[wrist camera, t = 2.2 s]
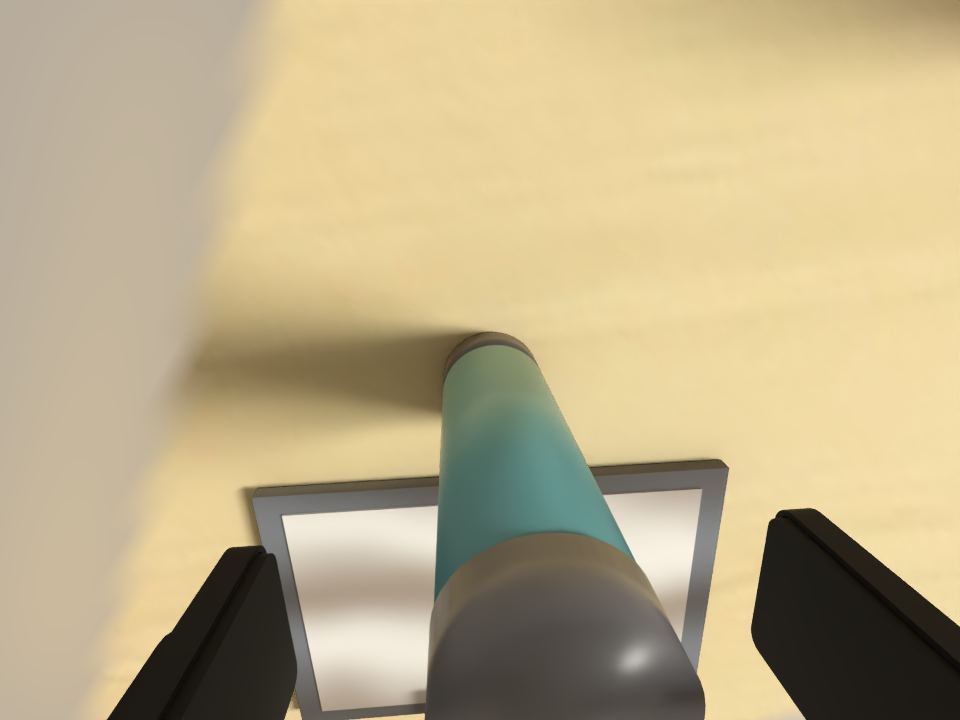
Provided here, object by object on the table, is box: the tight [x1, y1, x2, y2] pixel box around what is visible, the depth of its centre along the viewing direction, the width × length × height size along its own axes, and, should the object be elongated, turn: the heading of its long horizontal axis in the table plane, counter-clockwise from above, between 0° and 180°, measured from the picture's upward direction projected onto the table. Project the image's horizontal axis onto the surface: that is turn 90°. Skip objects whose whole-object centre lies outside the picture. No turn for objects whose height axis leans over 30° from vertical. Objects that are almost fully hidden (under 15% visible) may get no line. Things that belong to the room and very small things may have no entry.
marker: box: [425, 332, 705, 720], centre depth 12 cm, size 4×4×12 cm
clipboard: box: [252, 460, 729, 720], centre depth 20 cm, size 12×18×2 cm, turn 92°
